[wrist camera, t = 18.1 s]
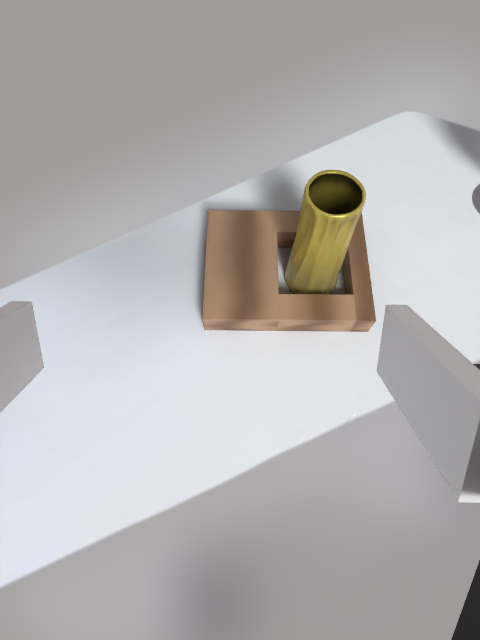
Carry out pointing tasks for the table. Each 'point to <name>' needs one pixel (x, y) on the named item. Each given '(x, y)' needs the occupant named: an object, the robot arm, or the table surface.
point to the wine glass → (476, 198)
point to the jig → (276, 278)
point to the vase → (324, 231)
